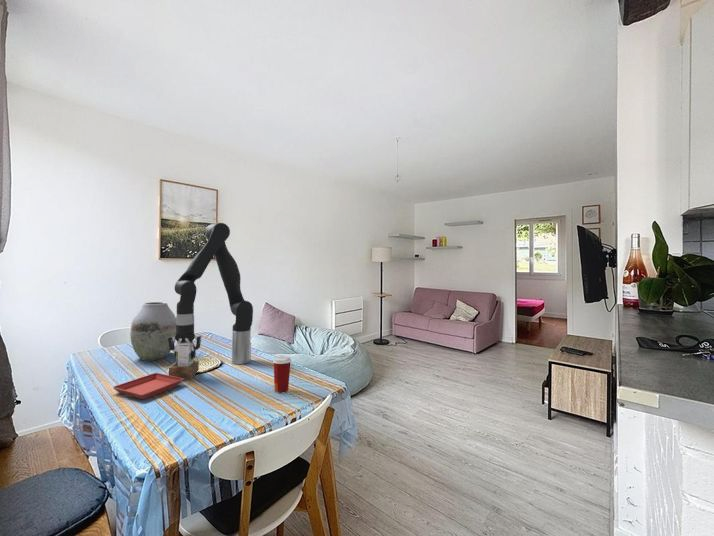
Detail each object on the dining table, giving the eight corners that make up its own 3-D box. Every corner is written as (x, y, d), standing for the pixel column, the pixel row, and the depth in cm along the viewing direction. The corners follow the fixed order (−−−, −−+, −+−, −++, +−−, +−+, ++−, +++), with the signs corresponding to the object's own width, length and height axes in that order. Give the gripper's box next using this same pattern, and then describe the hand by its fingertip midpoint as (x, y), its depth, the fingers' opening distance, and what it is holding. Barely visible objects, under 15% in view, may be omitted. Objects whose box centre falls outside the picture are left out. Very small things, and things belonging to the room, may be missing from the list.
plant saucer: (111, 394, 122) (111, 386, 122) (155, 379, 139) (155, 371, 139) (141, 403, 116) (141, 394, 116) (184, 386, 132) (184, 378, 132)
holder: (198, 371, 149) (198, 360, 149) (191, 378, 140) (191, 366, 140) (177, 372, 147) (177, 360, 147) (168, 379, 138) (168, 367, 138)
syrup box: (181, 370, 146) (181, 340, 146) (194, 370, 147) (194, 340, 146) (175, 374, 141) (175, 343, 140) (188, 374, 141) (188, 343, 141)
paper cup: (294, 388, 132) (294, 356, 132) (284, 395, 125) (285, 361, 125) (278, 385, 135) (279, 354, 134) (268, 392, 127) (268, 359, 127)
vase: (184, 356, 172) (185, 302, 171) (141, 366, 154) (142, 306, 153) (164, 349, 183) (165, 299, 183) (122, 358, 165) (123, 303, 165)
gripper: (204, 321, 148) (204, 355, 148) (171, 321, 146) (171, 356, 146) (199, 324, 141) (198, 360, 141) (164, 324, 138) (164, 361, 139)
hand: (185, 358), depth 144 cm, fingers closed on syrup box, 6 cm apart
